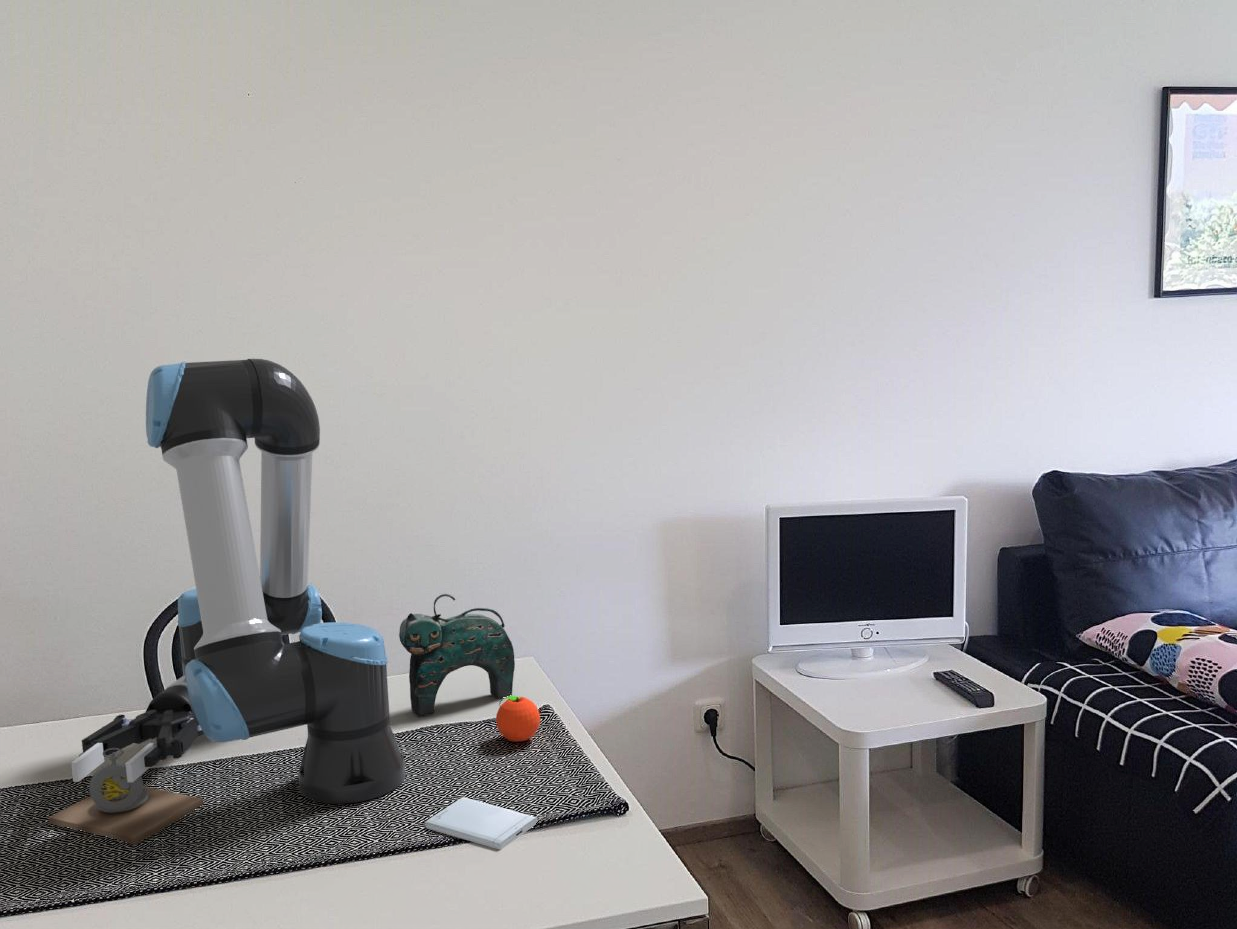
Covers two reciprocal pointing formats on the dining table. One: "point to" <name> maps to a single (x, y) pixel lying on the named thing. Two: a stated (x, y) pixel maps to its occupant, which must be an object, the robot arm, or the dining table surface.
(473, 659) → the ceramic cat
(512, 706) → the clementine
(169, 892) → the dining table surface
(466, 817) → the hard drive
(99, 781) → the pocket watch
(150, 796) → the walnut board
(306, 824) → the dining table surface
